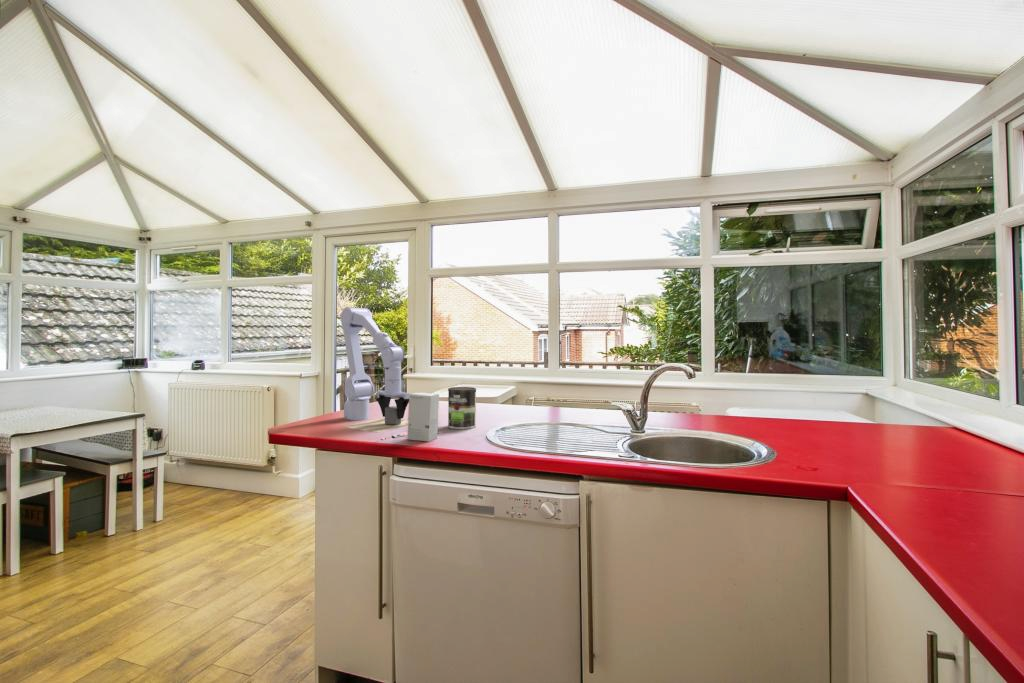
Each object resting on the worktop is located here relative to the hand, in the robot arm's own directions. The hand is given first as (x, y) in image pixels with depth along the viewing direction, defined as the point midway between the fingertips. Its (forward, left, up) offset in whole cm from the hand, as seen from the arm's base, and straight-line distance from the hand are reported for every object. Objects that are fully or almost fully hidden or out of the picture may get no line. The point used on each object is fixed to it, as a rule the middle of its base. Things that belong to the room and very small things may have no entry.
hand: (393, 417), depth 171 cm
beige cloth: (-3, -3, -4) cm, 6 cm away
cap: (0, 0, -2) cm, 2 cm away
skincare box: (+21, -7, -4) cm, 23 cm away
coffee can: (+19, +16, -4) cm, 25 cm away
